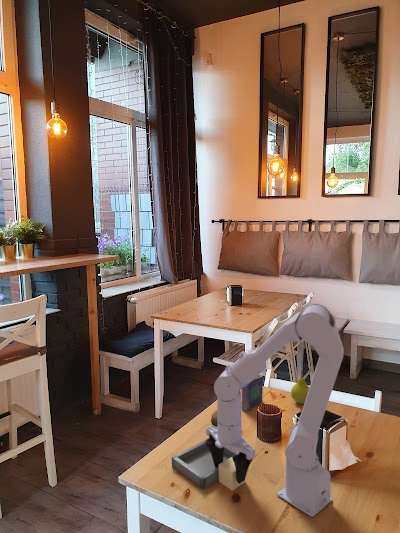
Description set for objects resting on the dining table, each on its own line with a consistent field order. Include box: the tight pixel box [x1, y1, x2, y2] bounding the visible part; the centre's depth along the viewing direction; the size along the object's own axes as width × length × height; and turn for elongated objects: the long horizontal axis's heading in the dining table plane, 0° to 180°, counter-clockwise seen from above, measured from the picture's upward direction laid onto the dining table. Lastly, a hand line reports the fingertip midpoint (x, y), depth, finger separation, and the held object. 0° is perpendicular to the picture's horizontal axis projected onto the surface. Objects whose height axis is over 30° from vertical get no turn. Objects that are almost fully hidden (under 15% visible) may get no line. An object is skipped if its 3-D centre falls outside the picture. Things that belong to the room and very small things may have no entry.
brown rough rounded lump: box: [210, 410, 217, 427], centre depth 121 cm, size 8×8×6 cm
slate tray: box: [171, 437, 239, 490], centre depth 103 cm, size 12×14×2 cm
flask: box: [241, 374, 264, 412], centre depth 135 cm, size 10×3×12 cm, turn 134°
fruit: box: [290, 370, 310, 405], centre depth 136 cm, size 7×7×12 cm
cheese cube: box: [218, 457, 246, 491], centre depth 97 cm, size 4×4×4 cm
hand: (229, 473), depth 97 cm, fingers open, 7 cm apart
